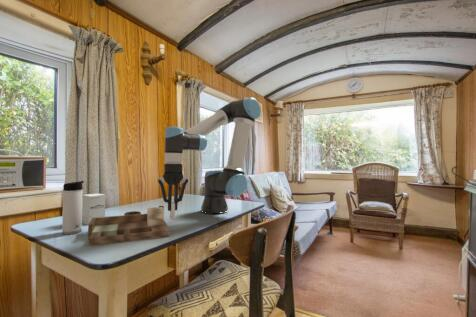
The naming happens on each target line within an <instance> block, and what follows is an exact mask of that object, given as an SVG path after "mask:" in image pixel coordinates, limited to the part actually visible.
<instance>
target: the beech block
mask: <svg viewBox="0 0 476 317" xmlns="http://www.w3.org/2000/svg"><path fill="white" fill-rule="evenodd" d="M146 210H147V212H146V214H147V224H148V226H153V225H163V224H164V221H165V208H164V209H163V208H162V207H159V206H157V207H147V209H146Z"/></svg>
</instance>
